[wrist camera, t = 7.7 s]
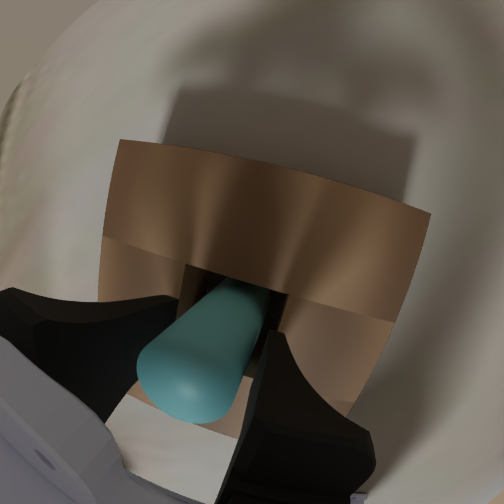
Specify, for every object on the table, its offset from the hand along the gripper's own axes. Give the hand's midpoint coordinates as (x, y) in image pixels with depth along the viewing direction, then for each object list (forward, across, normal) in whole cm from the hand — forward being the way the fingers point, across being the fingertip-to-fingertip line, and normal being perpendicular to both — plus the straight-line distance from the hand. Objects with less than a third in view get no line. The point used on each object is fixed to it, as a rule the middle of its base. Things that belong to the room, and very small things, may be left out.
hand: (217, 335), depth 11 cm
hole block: (+5, 0, 0) cm, 5 cm away
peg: (+5, 0, 0) cm, 5 cm away
